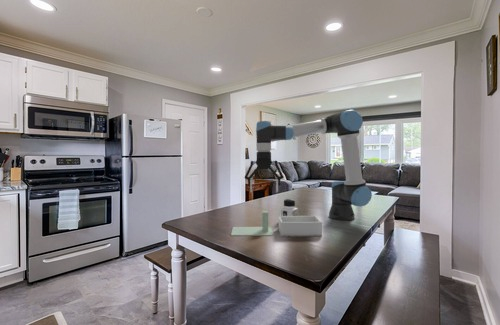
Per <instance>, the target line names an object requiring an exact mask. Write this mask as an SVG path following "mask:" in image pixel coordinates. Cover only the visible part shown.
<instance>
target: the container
mask: <svg viewBox="0 0 500 325" xmlns="http://www.w3.org/2000/svg"><path fill="white" fill-rule="evenodd" d="M280 216H299V208H298V207H296V201H295V200H294V199H292V198H285V199H284V200H283V208H280Z"/></svg>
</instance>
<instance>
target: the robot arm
mask: <svg viewBox="0 0 500 325" xmlns="http://www.w3.org/2000/svg"><path fill="white" fill-rule="evenodd" d="M363 122H364V120H363V116H362V114H361V113H360V112H358V111H357V110H354V109H349V110H343V111H340V112H337V113H334V114H331V115H328V116H324V117H321V118H318V120H313V121H307V122H306V121H305V122H301V123H295V124H289V125H272V122H271V121H269V120H260V121H258V122H256V127H255V128H256V129H255V132H256V134H255V136H256V151H257V152H256V161H255V160H254V161H253V160H251V161H250V165H249V167H248V169H247V172H246V173H245V175H244V179H245V180H247V186H248V187H249V188H250V193H253V187H252V186H253V180H252V178H253V177H254V175H256V173H257V172H259V170H270V171H271V173H272V174H273V175H274V176H275V177H276V179H275V186H276V187H275V192H276V193H278V192H279V187H280V186H281V180H282V179H284V178H285V176H284V174H283V172H282V170H281V169H280V167H279V165H278V161H277V160H272V152H271V151H272V143H273V142H276V141H277V142H278V141H291V140H293V138H298V137H299V138H300V137H304V136H310V135H314V134H315V135H317V134H322V135H325V134H337V137H338V138H339V139H340V143H341V151H342V159H343V165H344V166H343V167H344V174H345V175H344V176H345V180H341V181H340V180H338V181H335V180H334V181H332V183H331V206H330V209H329V212H328V217H329V218H330V219H332V220H338V221H352V220H354V219H355V212H354V208H353V207H352V205H353V206H355V207H361V208H362V207H365V206H367V205H368V204H369V203H370V202H371V199H372V196H373V194H372V190H371V189H370V188H369V187H368V186H367V182H366V180H365V179H363V175H362V174H363V173H362V166H361V158H360V150H359V148H360V147H359V143H358V141H359V140H358V136H359V135H360V129H361V128H362V126H363ZM272 164H273V165H274V166H275V168H276V170H277V172H278V174H279V175H278V174H277V173H276V172H275V170H274V169H273V168H272V167H271V165H272ZM254 165H256V168H254V170H253V172H252V173H250V172H251V170H252V168H253V166H254ZM249 174H250V175H249Z"/></svg>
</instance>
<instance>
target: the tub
mask: <svg viewBox="0 0 500 325" xmlns="http://www.w3.org/2000/svg"><path fill="white" fill-rule="evenodd" d="M278 231H279V235H280V237H281V238H282V237H283V238H284V237H288V236H290V237H323V222H322V220H320V218H319V217H318V216H316V215H298V216H281V215H278Z"/></svg>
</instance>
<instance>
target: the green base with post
mask: <svg viewBox="0 0 500 325" xmlns="http://www.w3.org/2000/svg"><path fill="white" fill-rule="evenodd" d="M230 236H231V237H232V236H233V237H234V236H237V237H238V236H240V237H241V236H244V237H246V236H247V237H248V236H249V237H250V236H251V237H252V236H253V237H255V236H256V237H257V236H258V237H259V236H262V237H263V236H268V237H269V236H274V233H273V229H272V226H269V211H268V210H261V226H232V230H231V233H230Z"/></svg>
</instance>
